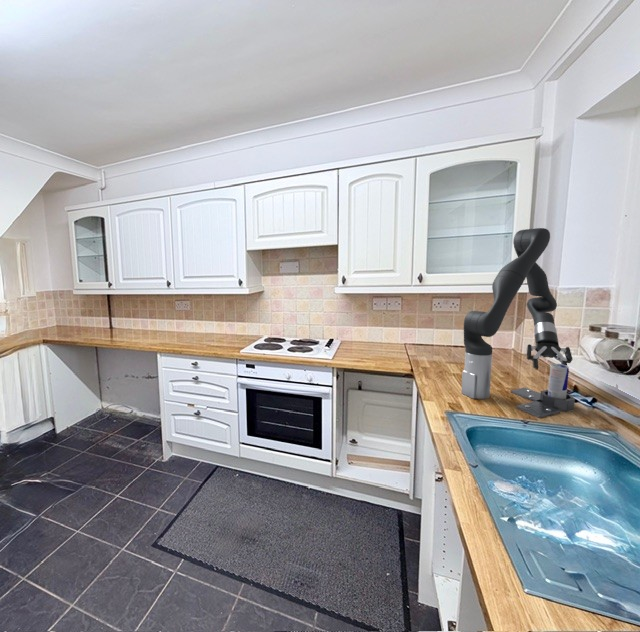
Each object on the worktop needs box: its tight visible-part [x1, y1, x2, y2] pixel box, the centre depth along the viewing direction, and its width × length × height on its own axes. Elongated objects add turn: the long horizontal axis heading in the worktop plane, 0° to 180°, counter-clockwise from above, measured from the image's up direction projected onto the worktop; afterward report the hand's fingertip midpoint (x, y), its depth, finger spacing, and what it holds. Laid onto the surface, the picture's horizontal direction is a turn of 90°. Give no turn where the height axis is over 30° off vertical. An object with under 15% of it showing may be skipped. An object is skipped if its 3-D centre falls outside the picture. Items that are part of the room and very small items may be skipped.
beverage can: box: [547, 363, 570, 400], centre depth 104 cm, size 5×5×15 cm
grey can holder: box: [510, 387, 576, 419], centre depth 108 cm, size 19×19×4 cm
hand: (550, 370), depth 114 cm, fingers open, 8 cm apart
